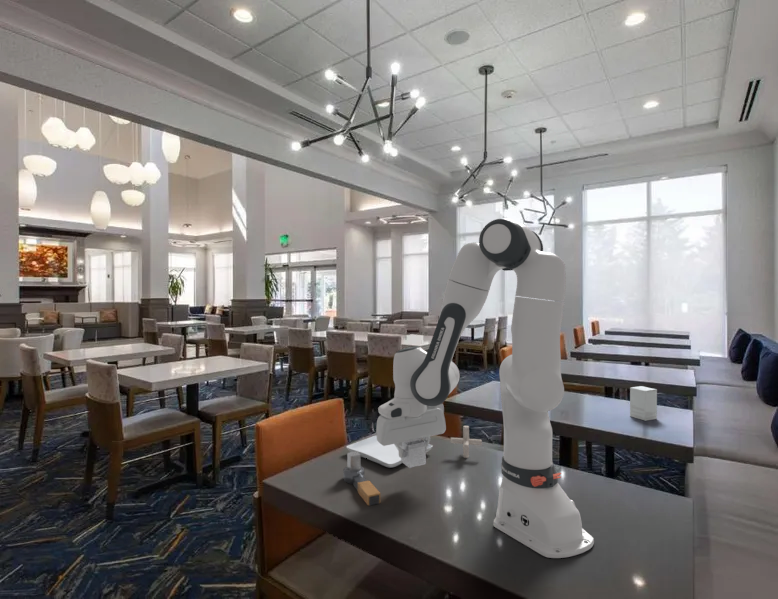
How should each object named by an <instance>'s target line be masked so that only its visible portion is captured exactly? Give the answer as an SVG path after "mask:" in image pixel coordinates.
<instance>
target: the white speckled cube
mask: <svg viewBox="0 0 778 599" xmlns="http://www.w3.org/2000/svg"><path fill="white" fill-rule="evenodd" d="M400 447H401V449H404V450H405V451H406V457H403V458H401V462H402V464H404V465H405V466H406V467H407V468H409V469H411V468H414V467H420V466H423V465H427V455H426V454H427V452H426V449H425V441H424V439H423V438H419V439H415V440H410V441H405V442H402V446H400Z"/></svg>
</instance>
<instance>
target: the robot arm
mask: <svg viewBox="0 0 778 599" xmlns="http://www.w3.org/2000/svg"><path fill="white" fill-rule="evenodd" d="M565 265H566V264H565V261H564V259H562V258H561V257H560V256H559V255H557V254H555V253H552V252H550V251H549V252H548V251H544V244H543V241H542V239H541V237H540V236H539V235H538V233H537V232H535V231H533V230H531V229H530V228H529V227H528V226H527V225H525V224H524V223H520V222H518V221H515V220H514V219H512V218H506V217H505V218H497V219H493V220H491V221H490V222H488V223H486V224H485V226H484V227H483V228H482V230H481V232H480V234H479V238H478V242H477V241H476V242H469V243H466V244H464V245H462V247H461V248H460V250H459V251H458V253H457V255H456V258H455V260H454V262H453V264H452V267H451V270H450V272H449V274H448V275H449V276H448V278H447V282H446V286H445V289H444V293H443V299H442V303H441V306H440V312H439V316H438V320H437V323H436V326H435V329H434V332H433V334H432V338H431V341H430V344H429V346H428V349H427V351H426V350H424V348H422V347H421V346H418V345H416V346H415V345H414V346H409V347H405V348H401V349H399V350H398V351H396V352H395V353H394V355H393V356H394V357H393V363H392V364H393V367H392V368H393V369H392V371H393V372H392V374H393V375H392V378H393V379H392V380H393V383H394V387H395V388H394V394H393V396H394V397H393V398H391V399H390V400H388V401H387V402H385V403H383V404H381V405H379V407H378V408H377V409H378V410H377V411H378V413H379V416H378V418H377V420H376V427H375V428H376V434H375V435H376V437H377V441H378V442H379V443H380V444H382V445H383V446H386V445H391V444H394V445H395V446H396V448H397V449H398V451H399V457H400V458H403V457H406V451H405V450H404V449H401V447H400V446H402V442H405V441H410V440H415V439H419V438H420V439H422V440H423V441H425V449H426V453H428V452H427V446H428V444H430V442H431V437H432V436H437V435H442V434H444V433H445V432H446V431H447V425H446V418H445V414H444V413H445V407H444V404H443V403H445V401H446V400H447V398H448V397H449V395H450V394H451V393H452V392H453V390H454V389H456V387H457V386H458V385H459V382H460V377H461V374H460V372H461V371H460V369H459V368H458V365H457V364H456V363H455V362H454V361H453V357H454V354H455V351H456V348H457V346H458V344H459V340H460V338H461V336H462V335H463V333H464V332H465V329H466V328H467V327H469V325H470V324H471V323H472V322H473V321H474V320H475V319H476V318H477V317H478V316H479V314H480V313H481V311H482V310H483V307H484V306H485V303H486V301H487V299H488V296H489V292H490V290H491V286H492V283H493V280H494V278H495V275H496V274H497V273H498V272H499V271H500V270H503V271H513V272H514V273H515V275H516V290H515V295H514V296H515V297H514V303H513V311H512V318H511V319H512V320H511V326H510V332H511V347H512V348H511V354H509V355H508V356H507V357H505V358H504V359H503V360H502V362H501V363H500V366H499V371H498V372H499V374H498V375H499V386H500V400H501V401H500V402H501V409H502V410H501V413H502V420H503V456H502V457H501V463H500V467H501V475H502V480H501V484H500V487H499V491H498V498H497V506H496V507H497V509H496V512H495V518H494V519H493V524H492V525H493V527H495V529H497V530H498V531H501V533H505V535H507V536H509V537H511V538H512V539H514V540H516V541H517V542H519V543H520V544H523V545H524V546H525V547H528V548H530V549H531V550H533V551H534V552H536V553H537V554H539V555H541V556H543V557H545V558H548V559H549V558H551V559H561V558H562V559H563V558H569V557H575V556H577V555H580V554H581V555H582V554H584V553H586V552H587V551H589V550H591V548H593V546H594V543H595V540H594V539H595V538H594V536H592V535H591V534H590V533H588V532H587V531H586V530H585V529H584V528H583V524H582V518H581V513H580V511H579V509H578V508H577V507H576V504H575V501H574V500H572V499H570V497H569V496H568V494H567V493H566V491H564V489H563V488H562V486H561V485H560V483H559V479H560V478H562V476H560V475H562V472H556V467H555V464H554V461H553V427H552V424H551V421H550V416H549V412H550V411H552V410H554V409H555V408H557V407H558V406H559V405H560V404H561V402H562V400H563V399H564V395H565V386H564V382H563V379H562V359H561V358H562V355H561V330H562V329H561V328H562V321H563V315H564V308H565V307H564V306H565V300H566V298H565V297H566V288H567V285H566V284H567V281H566V279H567V277H566V266H565Z"/></svg>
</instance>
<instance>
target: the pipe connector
mask: <svg viewBox="0 0 778 599" xmlns="http://www.w3.org/2000/svg"><path fill="white" fill-rule="evenodd" d="M462 429H463V430H462V431H463V432H462V433H463V437H450V444H456V445H457V444H458V445H462V450H463V451H462V457H463V458H464V459H469V457H470V446H471V445H472V446H483V445H482V444H483V443H482V442H483V440H482V439H476V438H470V426H469V425H463V428H462Z"/></svg>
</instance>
